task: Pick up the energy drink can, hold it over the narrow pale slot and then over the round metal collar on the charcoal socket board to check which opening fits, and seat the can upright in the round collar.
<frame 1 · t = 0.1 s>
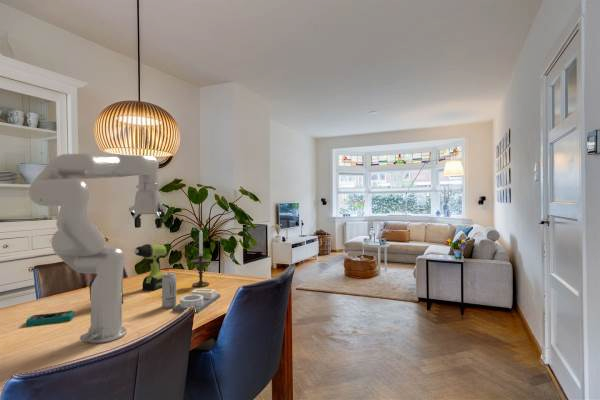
hand: (148, 227, 141), 37 cm above the table, tool pointing down, fingers open, 9 cm apart
milk frother: (111, 307, 150), on the table
energy drink can: (169, 307, 150), on the table
cordless drill: (149, 290, 177), on the table
candlestick: (200, 285, 188), on the table
socket board: (198, 303, 154), on the table
digital multimeter: (51, 322, 132), on the table
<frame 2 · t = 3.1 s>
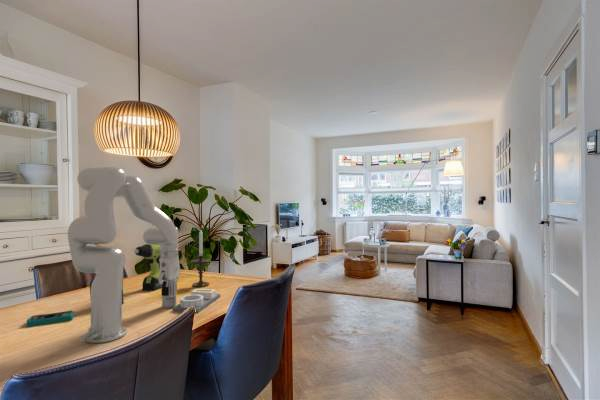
hand: (169, 293, 150), 6 cm above the table, tool pointing down, fingers closed on energy drink can, 6 cm apart
energy drink can: (169, 307, 150), on the table, touching gripper
everything else where it was.
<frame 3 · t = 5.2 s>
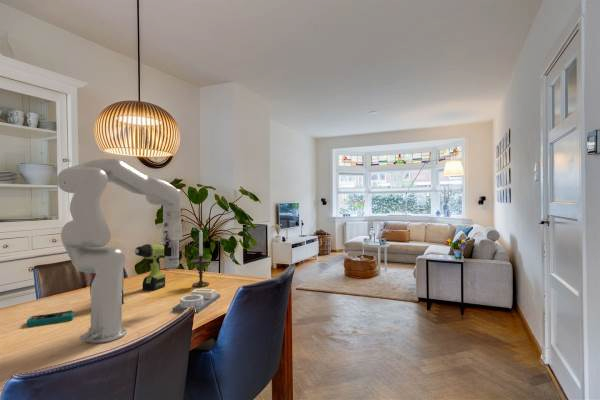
hand: (171, 254, 150), 24 cm above the table, tool pointing down, fingers closed on energy drink can, 6 cm apart
energy drink can: (171, 268, 150), point 17 cm above the table, touching gripper
everything else where it was.
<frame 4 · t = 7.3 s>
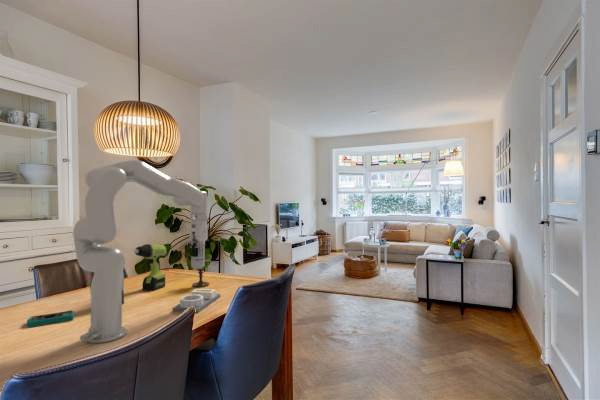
hand: (197, 255, 154), 23 cm above the table, tool pointing down, fingers closed on energy drink can, 6 cm apart
energy drink can: (197, 268, 154), point 16 cm above the table, touching gripper
everything else where it was.
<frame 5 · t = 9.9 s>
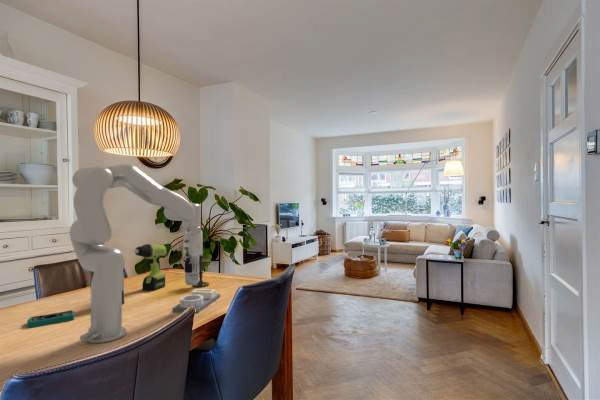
hand: (192, 270, 148), 17 cm above the table, tool pointing down, fingers closed on energy drink can, 6 cm apart
energy drink can: (192, 284, 148), point 11 cm above the table, touching gripper
when the fingers open (9 cm above the table, at t = 11.8 s): energy drink can drops 1 cm, resting on socket board.
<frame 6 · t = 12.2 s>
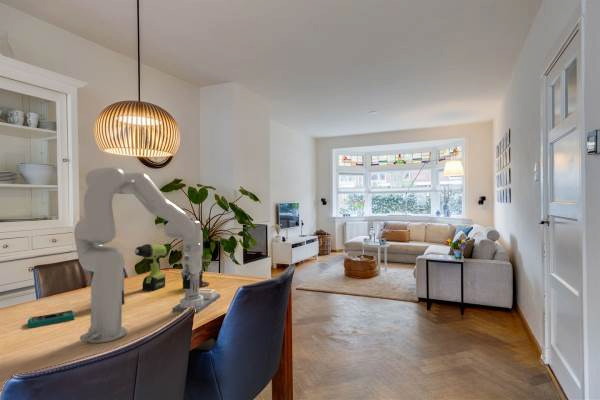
hand: (191, 285, 148), 10 cm above the table, tool pointing down, fingers open, 9 cm apart
energy drink can: (191, 304, 148), point 1 cm above the table, touching socket board
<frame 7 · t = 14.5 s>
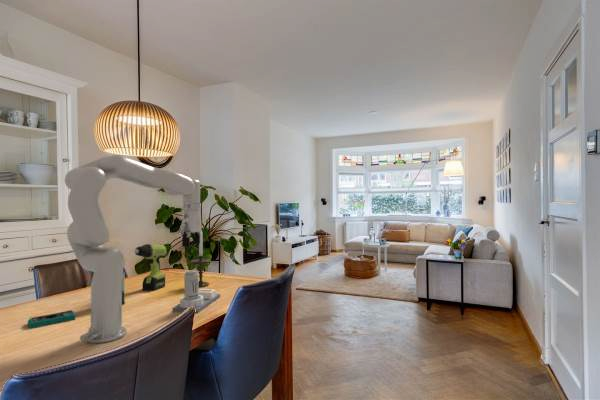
hand: (191, 245, 148), 28 cm above the table, tool pointing down, fingers open, 9 cm apart
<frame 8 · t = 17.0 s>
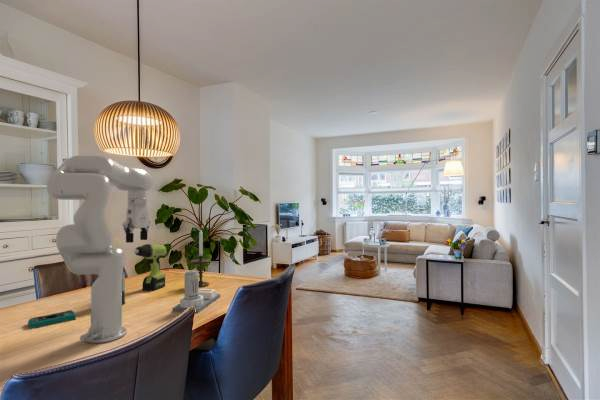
hand: (137, 241, 146), 30 cm above the table, tool pointing down, fingers open, 9 cm apart
at the end: energy drink can 0.2 cm from the target spot on the socket board, point 1.3 cm above the socket board's base; energy drink can tilted 0°; the gripper is holding nothing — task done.
